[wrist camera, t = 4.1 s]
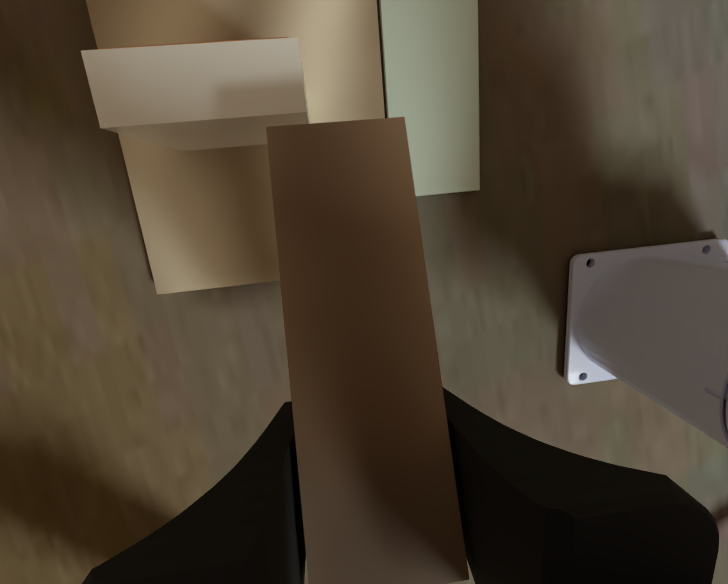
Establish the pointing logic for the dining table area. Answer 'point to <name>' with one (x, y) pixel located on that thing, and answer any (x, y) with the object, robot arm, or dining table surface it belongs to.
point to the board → (244, 163)
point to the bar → (363, 358)
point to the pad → (435, 88)
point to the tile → (199, 91)
